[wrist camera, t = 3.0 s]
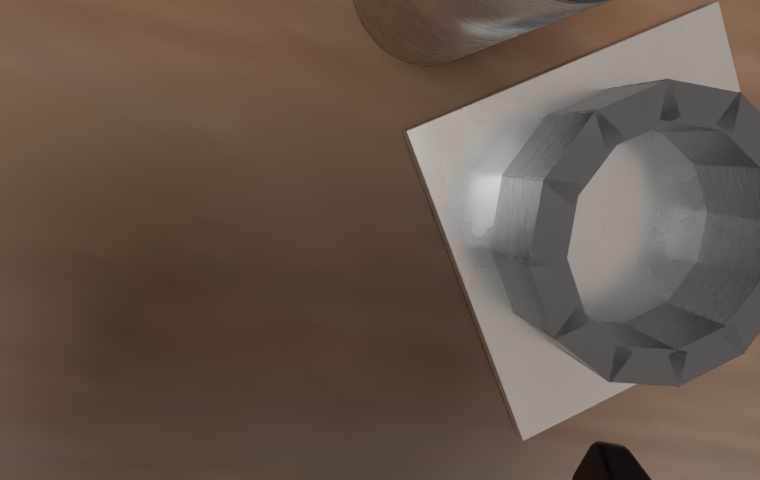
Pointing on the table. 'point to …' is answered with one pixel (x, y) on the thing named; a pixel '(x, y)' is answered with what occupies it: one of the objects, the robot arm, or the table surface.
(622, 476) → the robot arm
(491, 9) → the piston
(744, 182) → the ring sleeve
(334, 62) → the table surface
